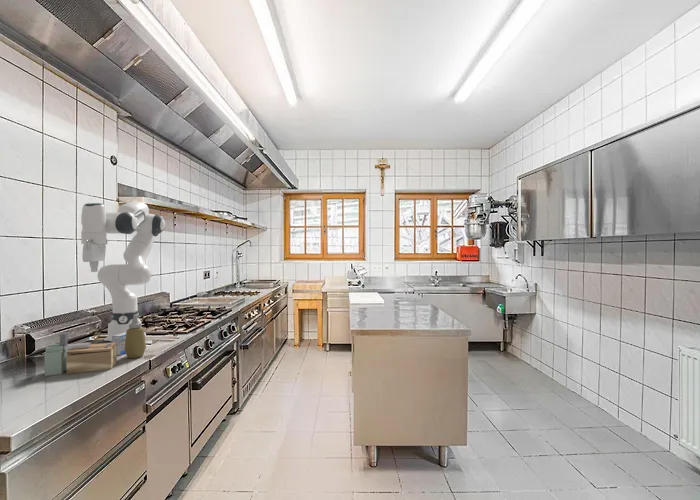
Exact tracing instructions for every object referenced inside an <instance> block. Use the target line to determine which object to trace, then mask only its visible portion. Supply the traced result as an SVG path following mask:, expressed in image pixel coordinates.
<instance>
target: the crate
mask: <svg viewBox="0 0 700 500" xmlns="http://www.w3.org/2000/svg"><path fill="white" fill-rule="evenodd" d="M117 356H118V355H117V345H115V347H114V348H113V349H112V350H111V351H99V352H87V353H75V354H68V355H67V369H66V375H72V374H73V375H74V374H81V373H91V372H99V371H106V370H112V369H113V367H115V365H116V363H117V360H118V358H117Z"/></svg>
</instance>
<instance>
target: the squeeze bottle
mask: <svg viewBox="0 0 700 500" xmlns="http://www.w3.org/2000/svg"><path fill="white" fill-rule="evenodd" d="M138 318H139V317H138ZM138 318H137V315H134V316H133V320H132V323H131V324H129V328H130V329H128V330H127V331H126V340H125V349H124V350H125V352H126V357H127V358H128V359H137V358H141V357H143V356H144V354H145V351H146V348H147V344H146V342H147V341H146V337H145V334H146V333H145V334H144V331H145V328H144V327H143V326H142V322H141V323H139V322H138Z"/></svg>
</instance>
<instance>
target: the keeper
mask: <svg viewBox="0 0 700 500" xmlns="http://www.w3.org/2000/svg"><path fill="white" fill-rule="evenodd" d="M67 351H69V350H63V346H60V343H53V344H50V345H49V346H47V347H45V352H44V376H45V377H48V376H55V375H57V376H58V375H62V374H64V373H65V372H66V371H67V355H68V354H67Z"/></svg>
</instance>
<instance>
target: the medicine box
mask: <svg viewBox="0 0 700 500" xmlns="http://www.w3.org/2000/svg"><path fill="white" fill-rule="evenodd" d="M125 340H126V332H124V333H121V334H117V335H114V336H112V341H111V343H113V342H117V344H116V345H117V356H122V355H125V354H126V352H125V350H124V349H125Z"/></svg>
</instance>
